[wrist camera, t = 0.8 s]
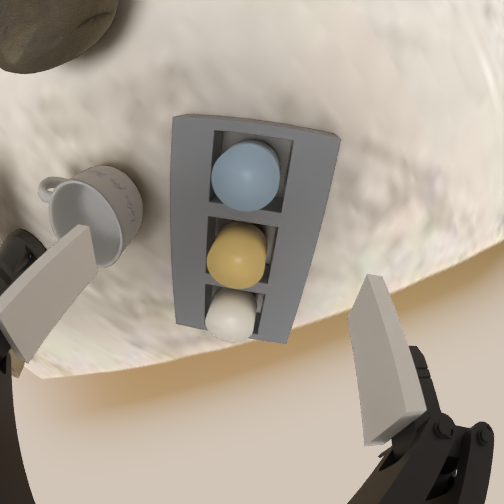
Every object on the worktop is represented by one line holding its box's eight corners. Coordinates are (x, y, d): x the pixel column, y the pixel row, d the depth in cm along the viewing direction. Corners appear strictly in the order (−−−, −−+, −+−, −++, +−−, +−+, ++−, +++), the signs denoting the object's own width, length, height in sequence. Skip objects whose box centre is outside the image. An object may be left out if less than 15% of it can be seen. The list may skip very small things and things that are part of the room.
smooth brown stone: (119, -42, 14) (42, -76, 1) (156, 24, 20) (63, -7, 8) (43, 25, 18) (-39, 28, 6) (69, 94, 25) (-26, 116, 12)
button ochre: (214, 262, 32) (205, 283, 28) (217, 217, 29) (207, 235, 25) (263, 270, 31) (260, 293, 28) (271, 226, 28) (268, 245, 25)
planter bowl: (33, 360, 66) (19, 382, 57) (1, 329, 61) (-15, 350, 52) (35, 345, 59) (18, 371, 49) (-1, 309, 54) (-20, 333, 45)
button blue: (219, 191, 27) (209, 206, 24) (224, 136, 24) (213, 142, 21) (275, 199, 27) (273, 216, 24) (284, 144, 24) (284, 152, 21)
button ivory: (212, 315, 36) (204, 337, 33) (213, 282, 33) (205, 304, 30) (253, 322, 36) (250, 345, 33) (259, 290, 33) (256, 313, 30)
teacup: (169, 198, 31) (138, 229, 24) (127, 251, 36) (98, 286, 29) (92, 126, 27) (47, 141, 20) (61, 188, 32) (24, 211, 25)
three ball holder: (184, 304, 39) (176, 323, 36) (187, 113, 26) (172, 116, 22) (287, 322, 39) (286, 343, 35) (333, 133, 25) (341, 139, 22)
